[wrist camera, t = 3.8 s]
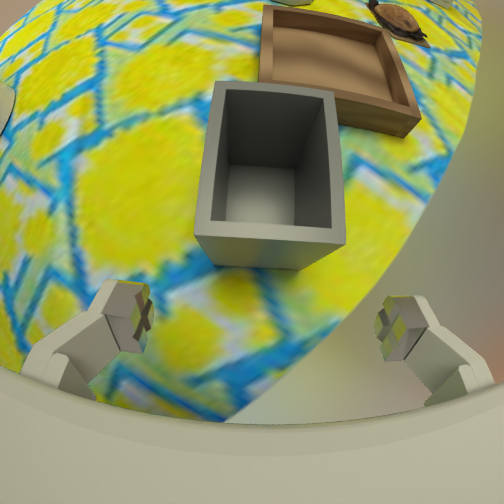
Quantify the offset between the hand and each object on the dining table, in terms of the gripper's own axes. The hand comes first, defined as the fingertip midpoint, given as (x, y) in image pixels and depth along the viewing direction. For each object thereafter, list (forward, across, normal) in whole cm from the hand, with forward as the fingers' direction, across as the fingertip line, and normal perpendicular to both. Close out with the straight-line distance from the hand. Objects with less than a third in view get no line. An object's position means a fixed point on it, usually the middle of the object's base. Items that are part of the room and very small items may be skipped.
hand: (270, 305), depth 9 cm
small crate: (+12, 0, +3) cm, 12 cm away
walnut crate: (+23, -6, -9) cm, 25 cm away
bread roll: (+36, -19, -20) cm, 45 cm away
